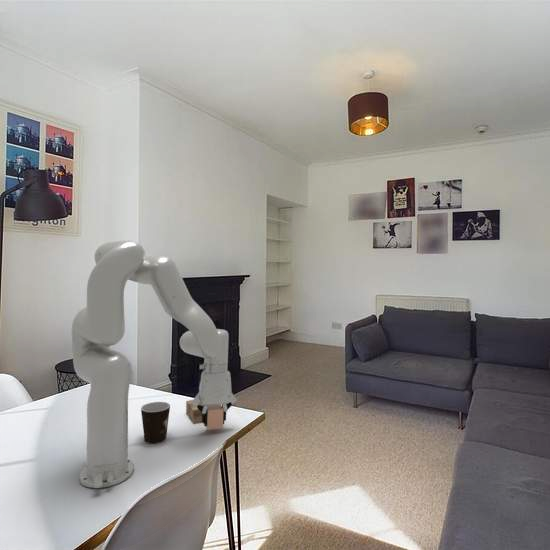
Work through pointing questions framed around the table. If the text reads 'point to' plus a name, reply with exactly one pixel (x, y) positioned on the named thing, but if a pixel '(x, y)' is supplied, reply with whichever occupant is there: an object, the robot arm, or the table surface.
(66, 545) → the table surface
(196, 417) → the walnut box
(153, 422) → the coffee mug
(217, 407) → the terracotta cube
